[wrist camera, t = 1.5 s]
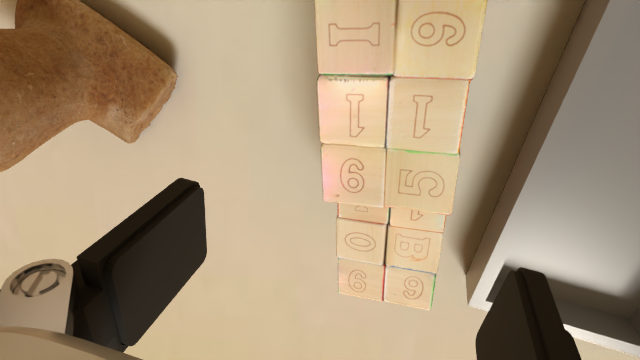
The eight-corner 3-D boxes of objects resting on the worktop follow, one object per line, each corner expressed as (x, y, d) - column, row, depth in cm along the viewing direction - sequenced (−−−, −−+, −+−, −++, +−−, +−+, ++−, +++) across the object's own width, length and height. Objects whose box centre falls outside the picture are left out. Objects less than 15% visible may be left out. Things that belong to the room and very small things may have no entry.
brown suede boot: (26, 76, 36) (-198, 127, 24) (38, -44, 30) (-260, -64, 17) (154, 166, 37) (1, 263, 24) (192, 67, 30) (13, 127, 18)
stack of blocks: (434, 229, 31) (428, 354, 21) (360, 219, 33) (321, 329, 22) (480, -77, 21) (515, -135, 11) (371, -71, 23) (310, -115, 12)
